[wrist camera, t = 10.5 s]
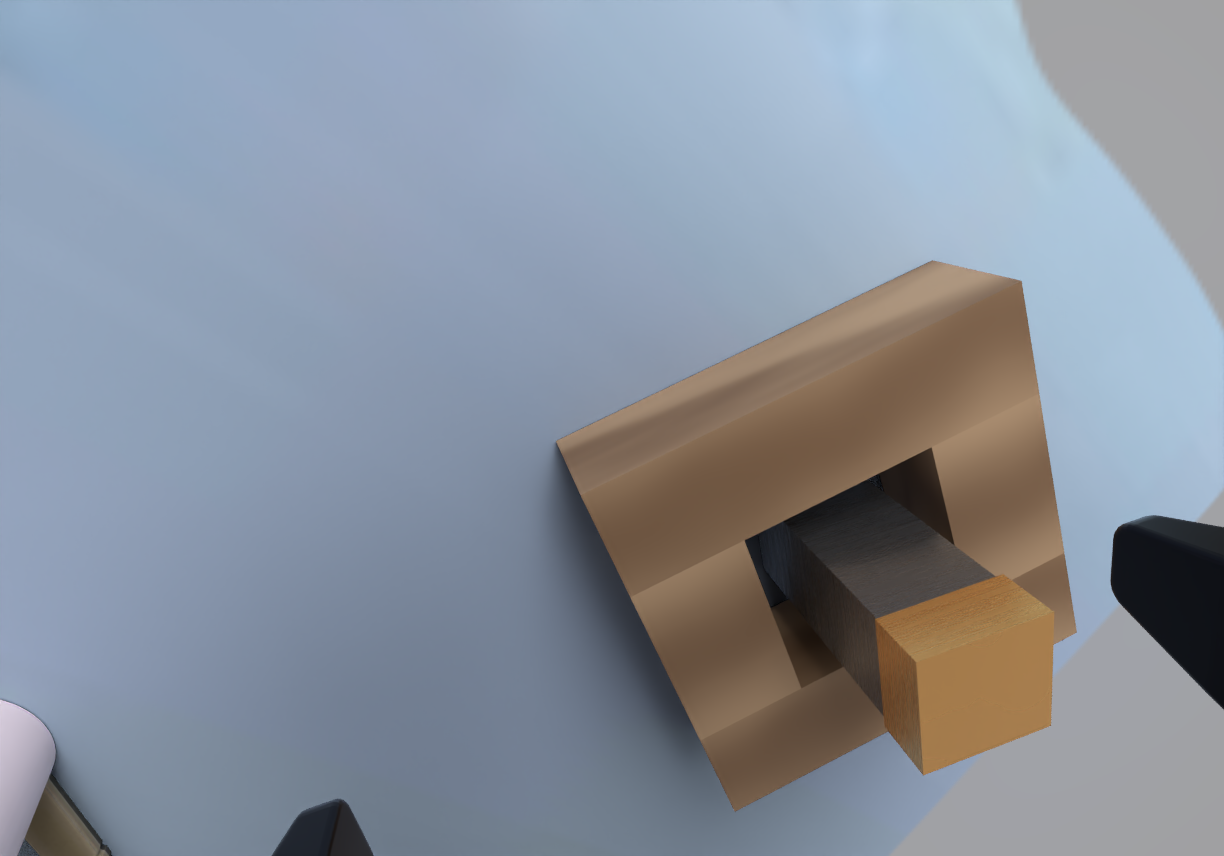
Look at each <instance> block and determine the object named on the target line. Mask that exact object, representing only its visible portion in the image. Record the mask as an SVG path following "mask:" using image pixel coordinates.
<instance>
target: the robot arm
mask: <svg viewBox="0 0 1224 856" xmlns="http://www.w3.org/2000/svg"><path fill="white" fill-rule="evenodd" d="M1111 587H1112V591H1113V593H1114V595H1115V597H1116V599H1117V600H1118V602H1119V603H1120V604H1121V605H1122V606H1123V607H1124V608H1125V609H1126V610H1127V611H1128V612H1129V613H1130V614H1131V616H1132V617H1133V618H1134V619H1136V621H1137V622H1138V623H1139V624H1140V625H1141V626H1142V627H1143V628H1144V629H1145V630H1146V631H1147V632H1148V633H1149V634H1150V635H1151V636H1152V637H1153V638H1154V639H1155V640H1156V641H1157V642H1158V643H1159V644H1160V645H1161V646H1162V647H1163V648H1164V649H1165V651H1166V652H1167V653H1168V654H1169V655H1170V656H1172V658H1173V659H1174V660H1175V661H1176V662H1177V663H1178V664H1179V665H1180V666H1181V667H1182V668H1183V669H1184V670H1185V671H1186V672H1187V673H1188V674H1189V675H1190V676H1191V677H1192V678H1193V679H1194V680H1195V681H1196V682H1197V683H1198V684H1199V685H1200V686H1201V687H1202V689H1204V690H1205V692H1206V693H1207V694H1208V695H1209V696H1210V697H1212V699H1214V701H1216V703H1218V704H1219V705H1220V706H1221V707H1222V708H1223V709H1224V527H1219V526H1213V525H1208V524H1202V523H1197V522H1191V521H1186V520H1180V519H1174V518H1169V517H1163V516H1156V515H1151V516H1145V517H1142V518H1139V519H1137V520H1134V521H1131V522H1128V523H1125V524H1123V525H1121V526H1120V527H1118V528H1117V530H1116V532H1115V534H1114V538H1113V552H1112V567H1111ZM272 856H373V853H372V851H371V848H370V846H369V844H368V842H367V840H366V838H365V836H364V834H363V832H362V830H361V828H360V826H359V824H358V822H357V820H356V818H355V816H354V815H353V813H352V811H351V809H350V807H349V805H348V804H347V803H346V802H345V801H344V800H341V799H335V800H332V801H329V802H326V803H323V804H320V805H318V806H315V807H312V808H309V809H306V810H305V811H303V812H301V813H300V814H299V815H298V817H297V818H296V819H295V820H294V822H293V824H292V825H291V827H290V828H289V830H288V831H287V833H286V834H285V836H284V837H283V839H282V840H281V842H280V844H279V845H278V847H277V848H276V850H275V851H274V853H273V854H272Z"/></svg>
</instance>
